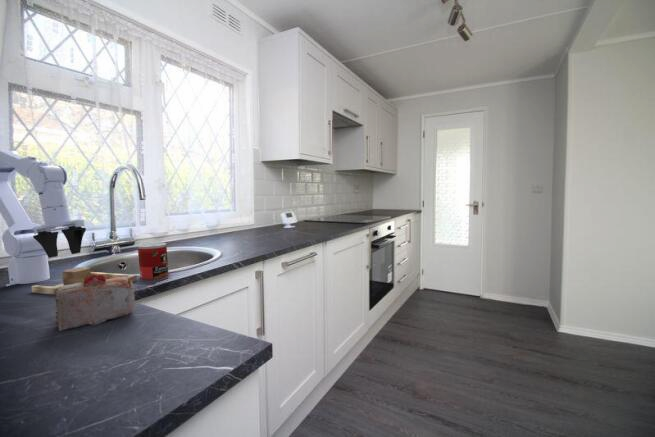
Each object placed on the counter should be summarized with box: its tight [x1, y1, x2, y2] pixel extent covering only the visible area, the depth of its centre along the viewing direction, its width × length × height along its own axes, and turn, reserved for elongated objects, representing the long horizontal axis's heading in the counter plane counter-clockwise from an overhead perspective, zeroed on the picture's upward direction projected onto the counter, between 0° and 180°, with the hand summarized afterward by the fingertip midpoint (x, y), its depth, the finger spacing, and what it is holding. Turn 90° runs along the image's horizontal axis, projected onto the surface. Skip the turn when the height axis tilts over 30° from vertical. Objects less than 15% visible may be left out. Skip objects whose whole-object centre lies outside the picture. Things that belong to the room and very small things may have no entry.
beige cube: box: [61, 266, 92, 285], centre depth 90 cm, size 4×4×4 cm
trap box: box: [31, 271, 138, 295], centre depth 89 cm, size 19×15×3 cm
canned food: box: [137, 241, 169, 283], centre depth 98 cm, size 8×8×11 cm
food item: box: [54, 275, 136, 332], centre depth 68 cm, size 14×8×10 cm, turn 131°
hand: (64, 255), depth 90 cm, fingers open, 7 cm apart
